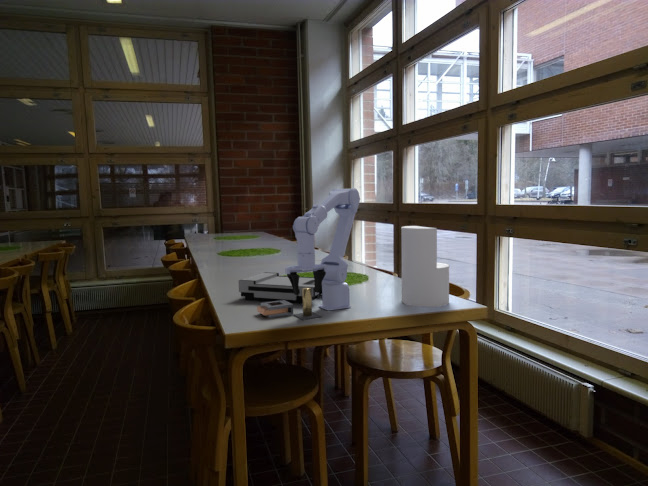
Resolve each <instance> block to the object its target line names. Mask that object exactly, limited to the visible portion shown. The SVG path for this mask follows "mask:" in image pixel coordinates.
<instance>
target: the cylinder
mask: <svg viewBox="0 0 648 486" xmlns="http://www.w3.org/2000/svg"><path fill="white" fill-rule="evenodd" d="M437 229H438V228H437V227H429V226H428V227H427V226H420V225H405V226H401V228H400V230H401V232H400V233H401V235H400V237H401V244H400V245H401V303H403V304H405V305H407V306H410V307H411V306H412V307H419V308H420V307H421V308H433V307H434V308H436V307H443V306H447V305H448V304H450V265H449V264H448V263H444V262H438V260H437V259H438V257H437V256H438V250H437V249H438V243H437V242H438V239H437V238H438V230H437Z"/></svg>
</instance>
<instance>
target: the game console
mask: <svg viewBox="0 0 648 486" xmlns="http://www.w3.org/2000/svg"><path fill="white" fill-rule="evenodd" d="M237 283H238V293H240V296H241V297H244V298H245V301H253V302H261V303H264V302H272V301H280V300H285V301H287V302H289V303H292V304H293V305H303V294H302V289H303V288H311V294H312V300H313V299H315V298H317V297H319V296H322V283H321V287H320V291H319V293H317V292H315V282H314V276H313V277H312V276H311V277H309V276H300V277H299V285H298V286H299V295H295V294H294V291H293V287H292V284H291V282H290V280H289V278H288V276H287V275H280V273H279V272H268V271H267V272H261V273H257V274H256V275H255V274H254V275H252V276H247V277H245V278H242V279H239V280H238V281H237Z"/></svg>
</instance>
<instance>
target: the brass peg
mask: <svg viewBox="0 0 648 486" xmlns="http://www.w3.org/2000/svg"><path fill="white" fill-rule="evenodd" d="M302 294H303V304H302V313H303V316H312V312H313V310H312V309H313V303H312V300H313V299H312V294H311V288H303V289H302Z"/></svg>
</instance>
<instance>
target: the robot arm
mask: <svg viewBox="0 0 648 486" xmlns="http://www.w3.org/2000/svg"><path fill="white" fill-rule="evenodd" d="M358 190H359V189H357V188H356V187H352V188H333V189H331V191H329V194H328V196H327V197H326V199H324V201H322V203H321V204H313V205H312V208H311V209H309V210H308V211H307V212H304V215H302V216H298V217H297V218H295V220H294V222H293V225H292V229H293V232H294V235H295V239H296V250H297V251H296V252H297V256H296V257H297V265H294V266H293V265H292V266H288V267H287V266H285V267H284V273H285V274H286V276H288V278H289V280H290V282H291V284H292V287H293V291H294V294H295V295H299V286H298V285H299V277H301V276H300V275H299V274H298V273H309V272H312V274H313V277H314V282H315V292H317V293H319V291H320V287H321V283H322V295H321V296H322V297H321V298H322V300H321V301H322V304H318V305H317V307H319V308H321V309H324V310H326V311H336V310H341V309H343V310H344V309H349V308H351V307H352V306H351V304H350V303H351V302H350V286H349V284H348V283H347V282H345V281H346V280H347V277H348V267H349V265H348V263H347V262H346V260H345V258H344V256H345V253H346V249H347V245H348V242H349V239H350V234H351V232H352V231H351V230H352V228H353V224H354V220H355V215H356V214H358V213H357V212H358V209H359V205H360V200H361V198H360V193H359V191H358ZM333 209H334V211H335V213H336V214H337V215H339V218H338V221H337V224H336V229H335V232H334V235H333V239H332V243H331V246H330V250H329V253H328V255H326V256H325V257H323V258H322V259H321V261H320V263H318V264H315V263H316V257H315V256H316V255H315V249H316V248H315V234H316V233H317V232H318V231H319V226H320V225H321V223H323V222H324V220H326V219H327V218H328V213H329V212H330V211H331V210H333Z"/></svg>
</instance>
